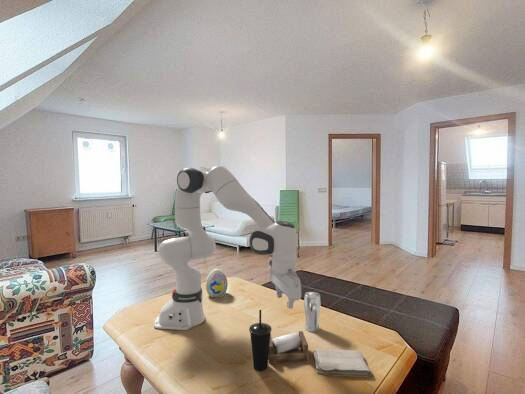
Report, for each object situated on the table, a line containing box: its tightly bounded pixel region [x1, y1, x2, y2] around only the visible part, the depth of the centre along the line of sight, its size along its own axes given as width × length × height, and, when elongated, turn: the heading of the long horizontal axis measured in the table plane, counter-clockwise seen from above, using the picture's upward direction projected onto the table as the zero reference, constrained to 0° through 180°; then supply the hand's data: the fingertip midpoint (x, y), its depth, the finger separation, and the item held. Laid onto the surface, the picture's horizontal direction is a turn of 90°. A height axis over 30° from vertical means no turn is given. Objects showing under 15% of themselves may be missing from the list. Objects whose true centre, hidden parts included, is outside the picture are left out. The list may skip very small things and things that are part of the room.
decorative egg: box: [205, 268, 229, 299], centre depth 157 cm, size 12×12×15 cm
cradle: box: [268, 330, 309, 364], centre depth 102 cm, size 14×9×6 cm, turn 94°
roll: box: [272, 332, 301, 354], centre depth 102 cm, size 9×5×5 cm
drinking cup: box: [248, 309, 272, 372], centre depth 95 cm, size 8×8×20 cm
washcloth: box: [312, 348, 372, 378], centre depth 96 cm, size 12×18×3 cm, turn 87°
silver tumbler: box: [303, 291, 321, 333], centre depth 120 cm, size 7×7×15 cm
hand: (284, 302), depth 102 cm, fingers open, 8 cm apart
